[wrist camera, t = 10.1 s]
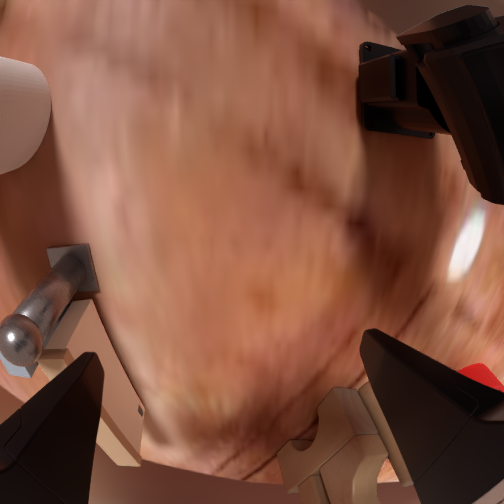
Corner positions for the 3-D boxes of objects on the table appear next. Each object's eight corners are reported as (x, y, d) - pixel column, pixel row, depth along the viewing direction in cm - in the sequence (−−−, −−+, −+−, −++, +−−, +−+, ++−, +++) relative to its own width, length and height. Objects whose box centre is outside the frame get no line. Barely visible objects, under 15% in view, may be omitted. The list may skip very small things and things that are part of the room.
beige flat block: (70, 301, 20) (36, 359, 14) (94, 298, 20) (63, 359, 14) (126, 409, 25) (117, 465, 19) (146, 408, 25) (140, 466, 19)
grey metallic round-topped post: (88, 243, 19) (19, 328, 10) (99, 288, 20) (49, 386, 11) (47, 247, 18) (-28, 324, 9) (60, 290, 20) (1, 379, 11)
